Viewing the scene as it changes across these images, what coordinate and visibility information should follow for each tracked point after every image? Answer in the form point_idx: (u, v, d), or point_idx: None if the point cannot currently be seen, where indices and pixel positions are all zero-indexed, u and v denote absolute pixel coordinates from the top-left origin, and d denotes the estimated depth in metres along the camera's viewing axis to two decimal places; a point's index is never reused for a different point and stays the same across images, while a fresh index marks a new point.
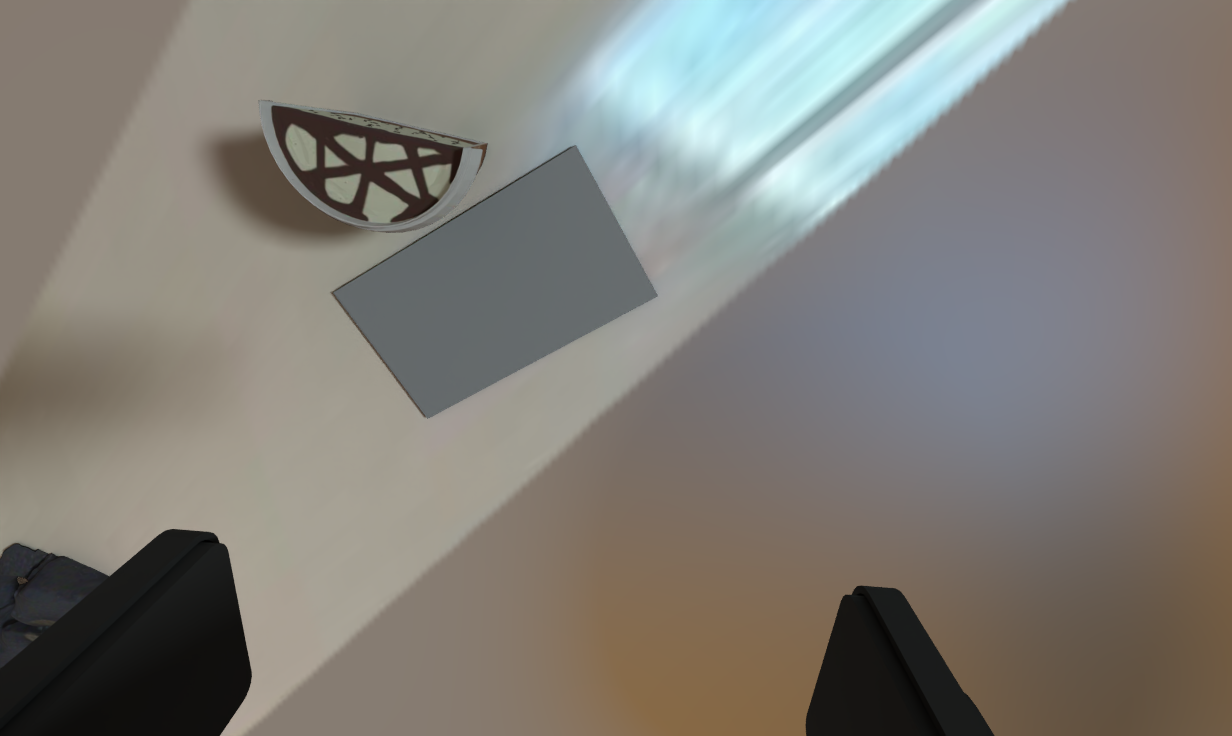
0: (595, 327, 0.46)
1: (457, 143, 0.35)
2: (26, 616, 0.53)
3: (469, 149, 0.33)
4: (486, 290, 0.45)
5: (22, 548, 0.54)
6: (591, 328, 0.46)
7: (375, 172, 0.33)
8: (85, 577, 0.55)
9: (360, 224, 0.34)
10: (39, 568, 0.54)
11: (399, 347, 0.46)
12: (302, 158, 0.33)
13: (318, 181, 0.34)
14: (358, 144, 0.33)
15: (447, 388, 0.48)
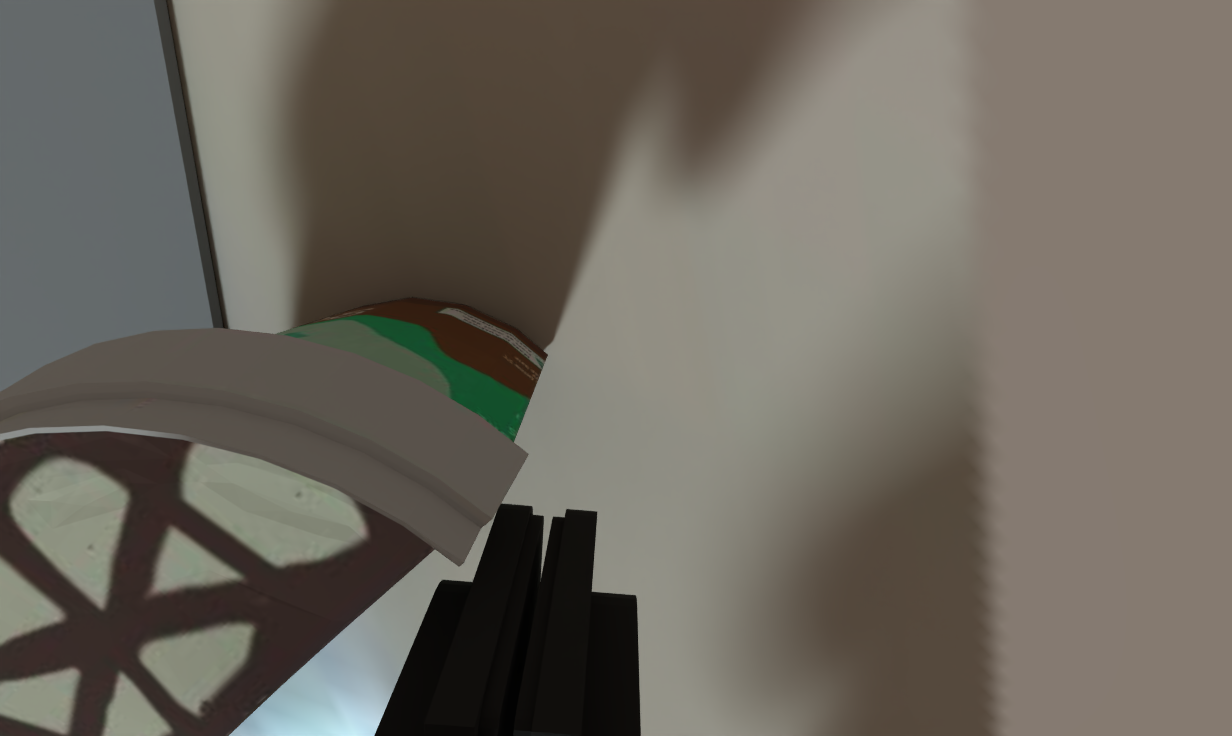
0: None
1: None
2: None
3: None
4: (20, 348, 0.16)
5: None
6: None
7: (90, 652, 0.09)
8: None
9: None
10: None
11: None
12: (237, 477, 0.08)
13: (131, 465, 0.08)
14: (187, 680, 0.08)
15: None
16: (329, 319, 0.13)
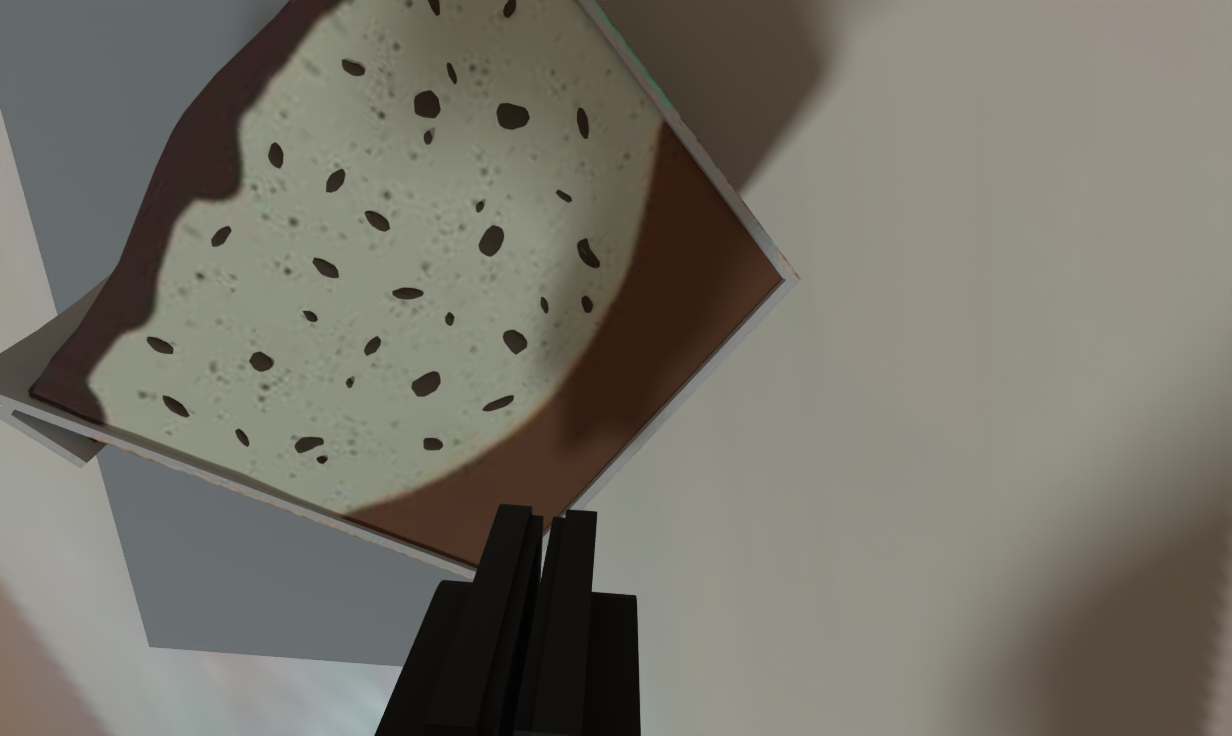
0: (118, 519, 0.18)
1: (239, 435, 0.10)
2: None
3: (2, 406, 0.09)
4: None
5: None
6: (118, 511, 0.18)
7: None
8: None
9: None
10: None
11: (246, 8, 0.13)
12: None
13: None
14: None
15: (48, 52, 0.14)
16: None
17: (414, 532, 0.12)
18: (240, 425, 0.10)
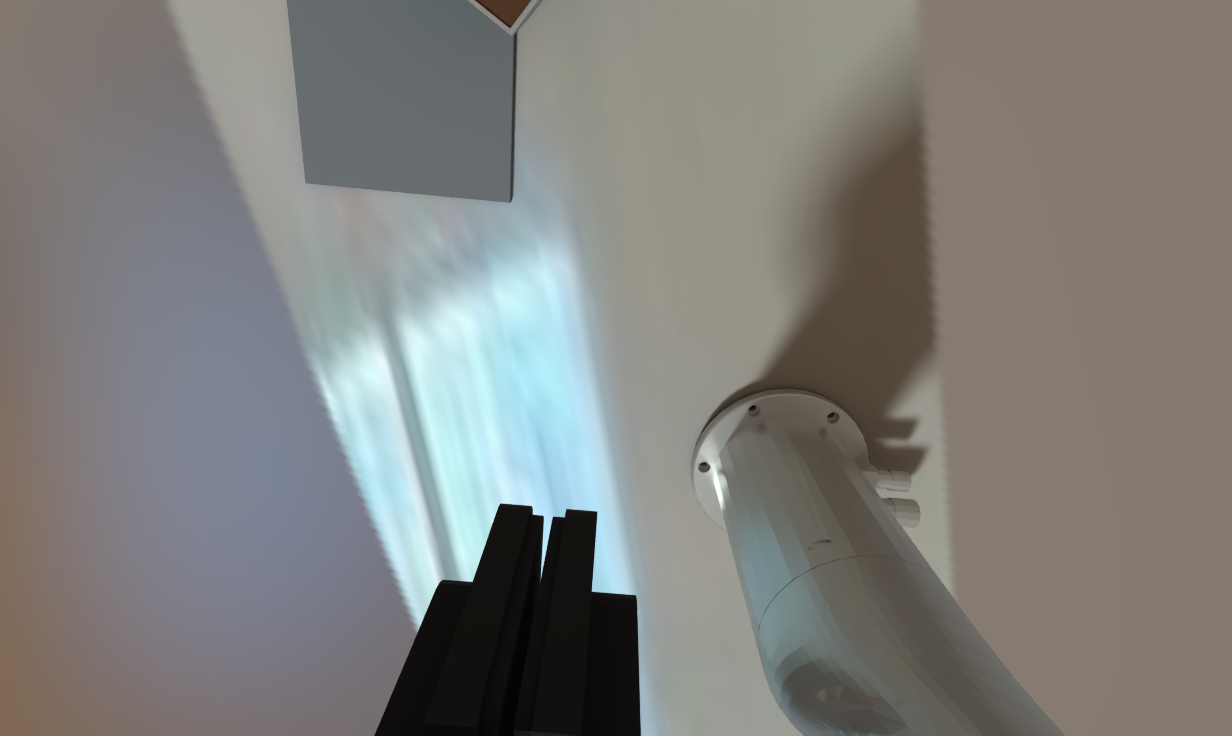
0: (297, 84, 0.33)
1: None
2: None
3: None
4: None
5: None
6: (298, 78, 0.33)
7: None
8: None
9: None
10: None
11: None
12: None
13: None
14: None
15: None
16: None
17: None
18: None
